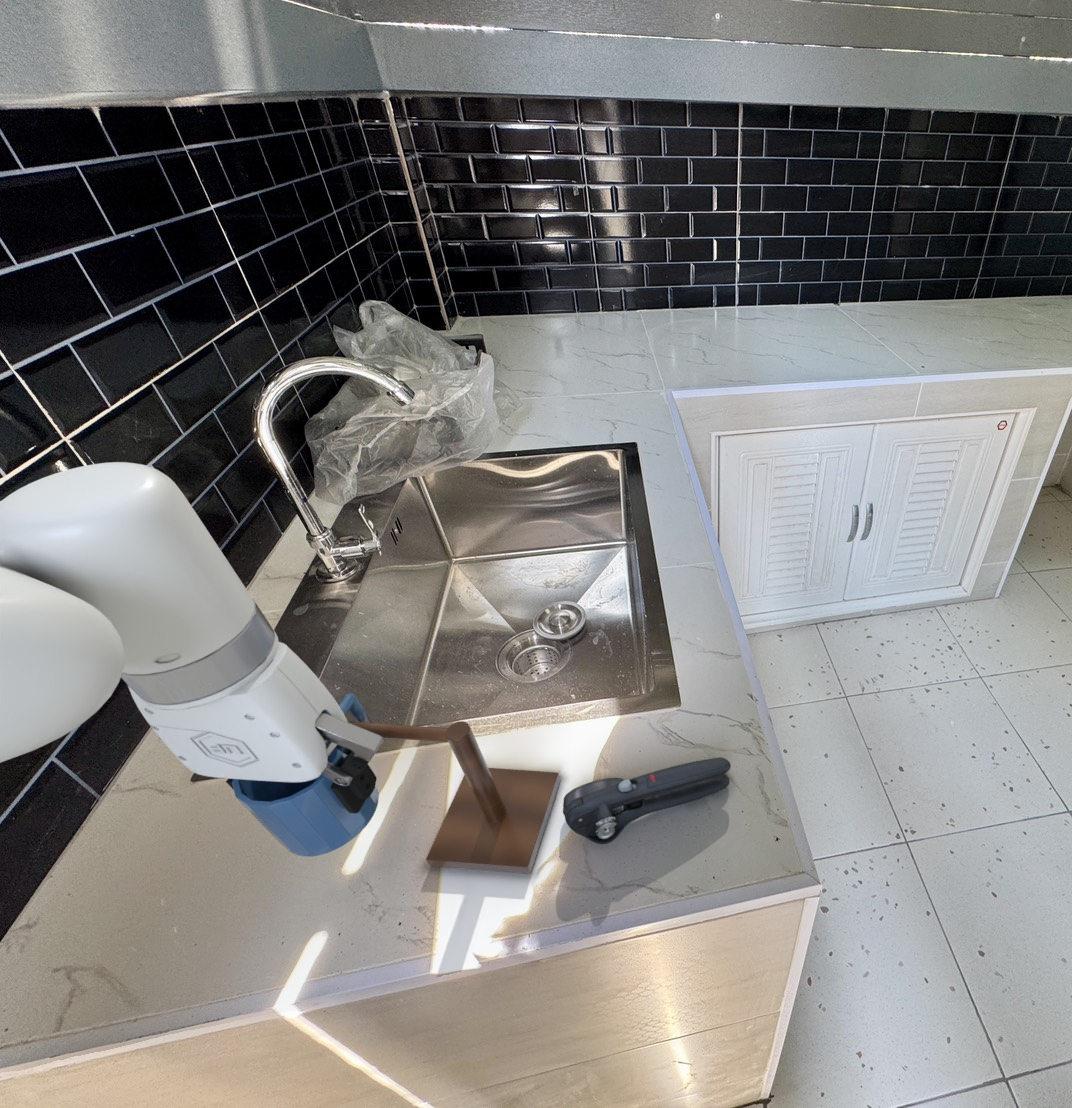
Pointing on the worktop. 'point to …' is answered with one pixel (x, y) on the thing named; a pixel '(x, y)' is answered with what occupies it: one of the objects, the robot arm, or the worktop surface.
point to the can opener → (639, 797)
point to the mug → (308, 805)
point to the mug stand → (484, 805)
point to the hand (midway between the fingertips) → (315, 792)
